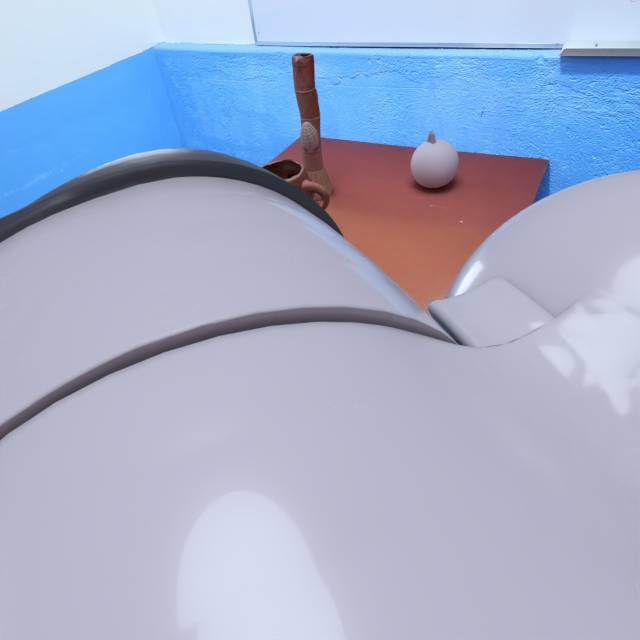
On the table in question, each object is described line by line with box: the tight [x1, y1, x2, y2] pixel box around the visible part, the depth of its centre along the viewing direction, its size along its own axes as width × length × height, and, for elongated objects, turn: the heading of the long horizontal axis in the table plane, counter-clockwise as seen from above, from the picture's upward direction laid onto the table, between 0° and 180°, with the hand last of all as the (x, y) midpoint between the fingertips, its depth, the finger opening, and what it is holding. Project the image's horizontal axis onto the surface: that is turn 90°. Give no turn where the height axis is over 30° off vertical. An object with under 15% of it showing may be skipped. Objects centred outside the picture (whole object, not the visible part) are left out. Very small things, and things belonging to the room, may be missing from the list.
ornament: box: [410, 132, 460, 189], centre depth 105 cm, size 10×10×12 cm
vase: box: [291, 52, 333, 202], centre depth 104 cm, size 11×7×30 cm
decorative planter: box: [258, 158, 331, 211], centre depth 98 cm, size 20×12×14 cm, turn 68°
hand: (413, 459), depth 50 cm, fingers open, 8 cm apart
